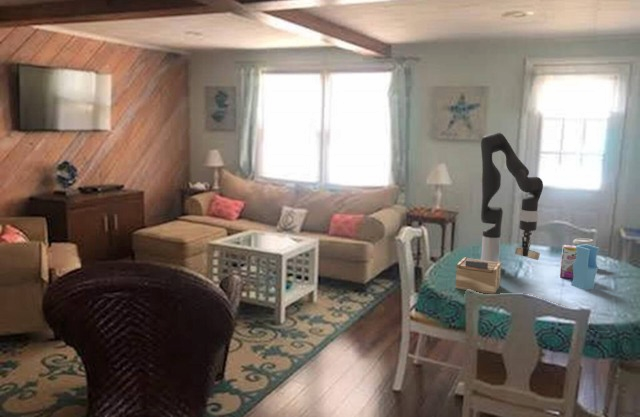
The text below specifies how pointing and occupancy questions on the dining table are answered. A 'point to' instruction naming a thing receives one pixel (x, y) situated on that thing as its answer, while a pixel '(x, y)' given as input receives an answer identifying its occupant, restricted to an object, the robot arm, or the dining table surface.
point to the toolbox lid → (478, 265)
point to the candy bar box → (568, 261)
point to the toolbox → (478, 279)
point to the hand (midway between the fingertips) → (525, 255)
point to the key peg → (530, 253)
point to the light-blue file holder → (585, 267)
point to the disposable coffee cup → (583, 242)
